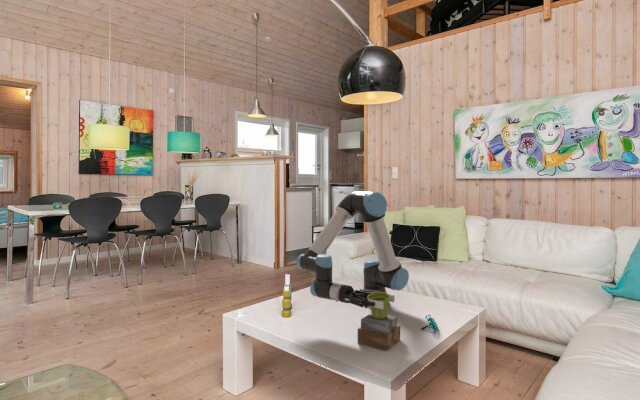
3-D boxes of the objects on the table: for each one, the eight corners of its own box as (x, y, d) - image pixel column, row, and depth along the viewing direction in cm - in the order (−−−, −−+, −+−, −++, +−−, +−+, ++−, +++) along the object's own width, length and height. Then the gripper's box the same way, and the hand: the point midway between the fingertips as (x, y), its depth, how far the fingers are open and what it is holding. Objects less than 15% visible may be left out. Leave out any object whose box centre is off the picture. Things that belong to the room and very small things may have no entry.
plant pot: (377, 323, 159) (376, 302, 158) (364, 315, 168) (362, 295, 166) (395, 317, 164) (394, 297, 162) (382, 309, 172) (380, 290, 171)
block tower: (372, 333, 174) (372, 310, 174) (400, 340, 167) (400, 316, 166) (357, 343, 164) (357, 319, 163) (386, 351, 156) (386, 326, 156)
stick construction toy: (438, 330, 171) (428, 313, 174) (425, 338, 173) (415, 321, 176) (442, 328, 182) (433, 313, 185) (429, 336, 183) (420, 320, 187)
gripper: (355, 295, 184) (400, 303, 171) (327, 308, 166) (375, 319, 153) (355, 279, 183) (400, 286, 171) (327, 290, 165) (376, 299, 152)
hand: (388, 302), depth 162 cm, fingers open, 10 cm apart
